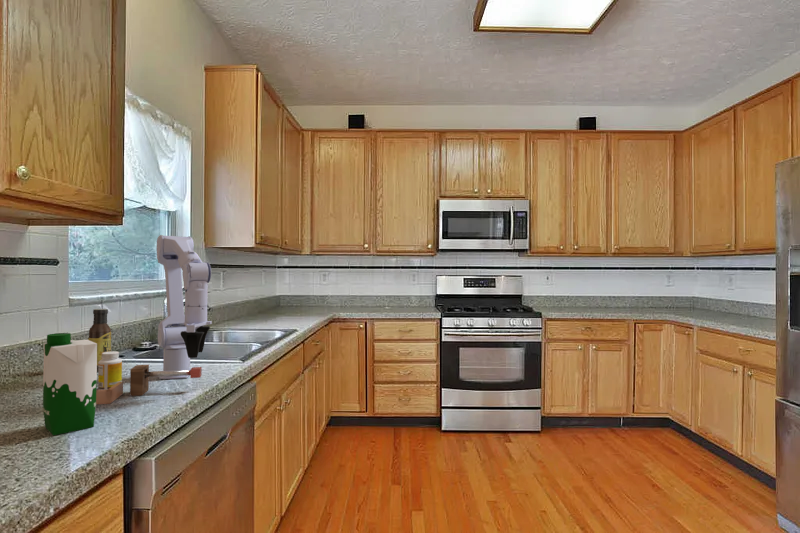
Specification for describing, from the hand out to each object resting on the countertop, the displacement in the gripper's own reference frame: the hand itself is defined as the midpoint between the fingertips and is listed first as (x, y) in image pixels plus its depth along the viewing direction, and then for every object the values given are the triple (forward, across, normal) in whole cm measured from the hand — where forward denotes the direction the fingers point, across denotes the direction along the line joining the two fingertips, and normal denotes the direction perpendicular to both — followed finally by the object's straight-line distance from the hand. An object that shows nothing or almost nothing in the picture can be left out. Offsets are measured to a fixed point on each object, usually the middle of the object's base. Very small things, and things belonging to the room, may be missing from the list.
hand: (195, 354), depth 127 cm
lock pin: (+6, 0, +7) cm, 9 cm away
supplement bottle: (+10, +5, +23) cm, 26 cm away
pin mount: (+10, 0, +14) cm, 17 cm away
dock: (+10, -5, +23) cm, 25 cm away
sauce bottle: (+10, +32, +35) cm, 48 cm away
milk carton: (+10, -26, +20) cm, 34 cm away
